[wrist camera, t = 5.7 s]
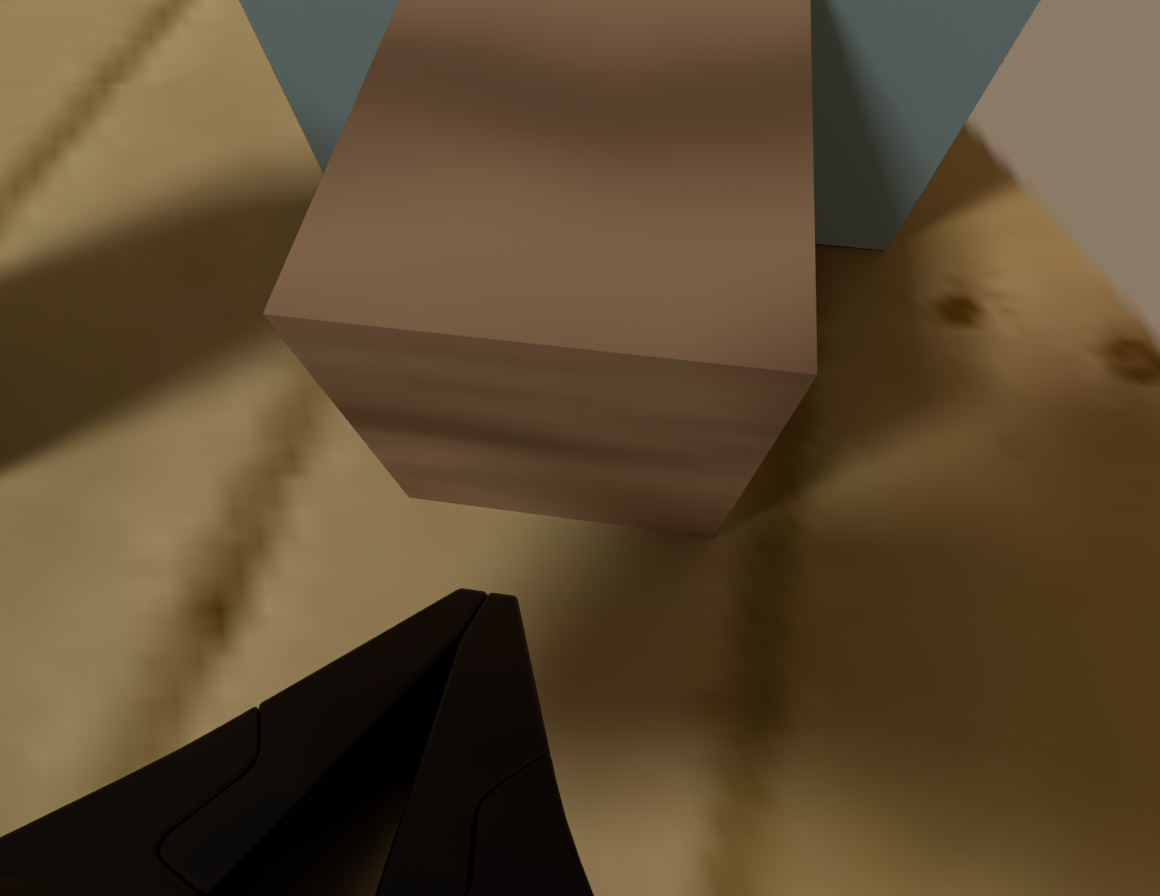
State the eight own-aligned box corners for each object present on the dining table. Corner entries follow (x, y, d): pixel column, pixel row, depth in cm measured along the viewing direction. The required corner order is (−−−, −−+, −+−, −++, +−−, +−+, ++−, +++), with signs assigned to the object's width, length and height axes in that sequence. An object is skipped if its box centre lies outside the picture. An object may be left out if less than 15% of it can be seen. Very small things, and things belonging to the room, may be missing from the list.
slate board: (886, 250, 19) (1149, -178, 10) (335, 199, 21) (132, -217, 12) (881, 191, 20) (1116, -246, 11) (357, 146, 22) (186, -274, 13)
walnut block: (713, 538, 16) (817, 375, 8) (410, 498, 16) (262, 313, 9) (729, 239, 20) (809, -45, 12) (486, 216, 20) (427, -67, 13)
